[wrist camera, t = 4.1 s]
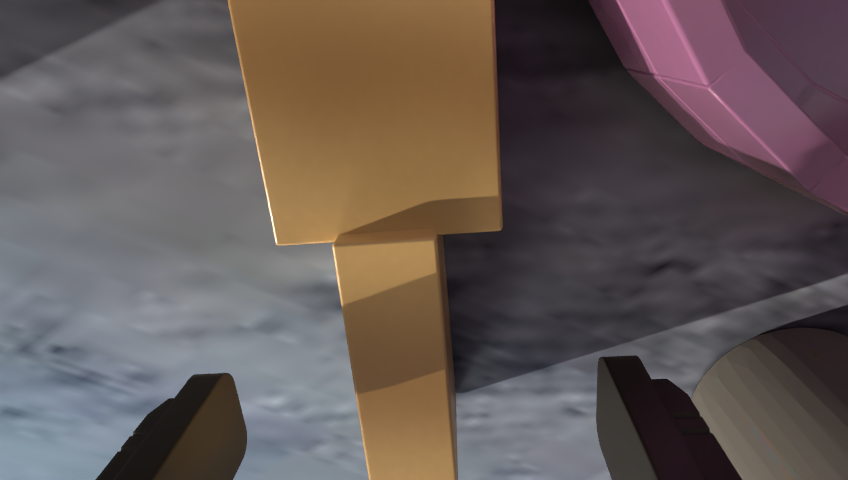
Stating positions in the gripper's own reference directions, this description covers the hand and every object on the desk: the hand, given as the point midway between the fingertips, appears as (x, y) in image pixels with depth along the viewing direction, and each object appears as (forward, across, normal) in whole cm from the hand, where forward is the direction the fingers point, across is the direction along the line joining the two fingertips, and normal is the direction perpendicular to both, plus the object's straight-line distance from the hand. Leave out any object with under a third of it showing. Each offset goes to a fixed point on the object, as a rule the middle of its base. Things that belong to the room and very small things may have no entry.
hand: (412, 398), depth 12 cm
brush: (+5, 0, -2) cm, 5 cm away
